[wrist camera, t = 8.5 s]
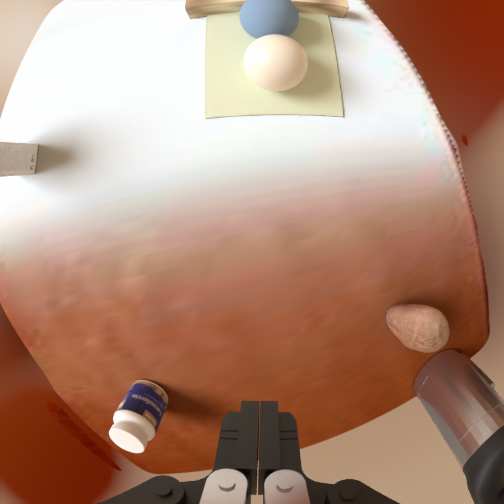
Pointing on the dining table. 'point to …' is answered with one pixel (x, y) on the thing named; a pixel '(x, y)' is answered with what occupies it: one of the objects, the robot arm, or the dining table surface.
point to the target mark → (261, 100)
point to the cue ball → (275, 62)
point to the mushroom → (418, 326)
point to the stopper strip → (209, 3)
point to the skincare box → (17, 158)
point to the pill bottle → (138, 416)
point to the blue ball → (269, 17)
